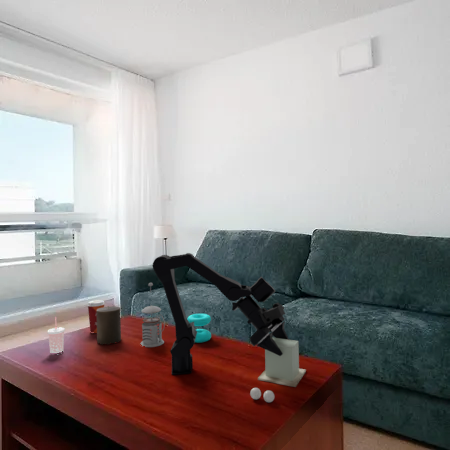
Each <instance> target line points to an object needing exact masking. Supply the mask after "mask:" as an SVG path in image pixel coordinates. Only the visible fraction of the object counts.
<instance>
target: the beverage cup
mask: <svg viewBox="0 0 450 450" xmlns="http://www.w3.org/2000/svg"><path fill="white" fill-rule="evenodd" d="M54 318H55V319H54V324H55V326H54V327H53V328H49V329H48V330H47V336H48V345H49V353H59V352H62V351H63V352H64V341H65V340H64V339H65V331H66V330H65V327H60V326H59V327H58V325H57V316H54Z"/></svg>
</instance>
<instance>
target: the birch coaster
mask: <svg viewBox="0 0 450 450" xmlns="http://www.w3.org/2000/svg"><path fill="white" fill-rule="evenodd" d="M306 371H307V369H305V368H304V369H303V368H299V373H298V374H297V375H296V377H295V378H294V380H293V381H290V380H285V379H280V378H275V377H270V376H266V373H265V370H264V371H263V372H262V373H261V374H260V375H259V376H258V377H257V381H263V382H268V383H272V384H277V385H283V386H288V387H292V388H296V387H297V386H298V385H299V383H300V381H301V380H302V378H303V376H304V375H305V374H306Z"/></svg>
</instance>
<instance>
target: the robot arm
mask: <svg viewBox="0 0 450 450" xmlns="http://www.w3.org/2000/svg"><path fill="white" fill-rule="evenodd" d="M182 267H187V268H189V269H190V270H192V271H193V272H194V273H196V274H198V275H199V276H200V277H202V278H203V279H205V280H206V281H208V282H209V283H211V284H212V285H214V286H215V287H216V288H217V289H218V291H220V293H221V294H222V295H223V296H224V297H225V298H226V299H227V300H229V301H231V302H232V303H231V304H232V306H231V311H234V312H235V311H237V310H238V309H239V310H240V312H241V313H242V314H243V315H244V316H245V318H246V319H247V321H246V322H247V324H248V325H250V324H251V325H252V326H253V327H254V328H255V329H256V331H255V332H254V333H253V334H252V335H251V336H249V343H250V344H251V345H252V346H253V347H257V348H261V349H264V350H265V349H266V350H268V351H270V352H272V353H274V354H277V355H279V356H281V355H282V354H283V353H282V352H281V350H280V349H279V347H278V346H277V344H276V343H275V341H274V340H273V338H280V339H288V340H290V338H289V337H288V334H287V332H286V330H285V319H286V318H285V317H284V315H286V313H285V311H284V310H285V306H283V304H281V303H280V302H276V303H273V304H272V307H271V308H270V309H267V308H265V307H261V306H260V305H259V303H265V302H266V301H267V300H268V299H270V298H271V296H273V295H274V293H275V292H276V290H275V288H274V287H273V286H272V285H271V284H270V282H268V281H266V280H265V278H263V276H260V277H259V278H258V279H257V281H255V282H254V283H253V284H252V285H251V286H250V285H246V284H245V285H243V284H241V283H240V282H238V281H237V280H235V279H232V278H230V277H228V276H225V275H222V274H221V273H219V272H218V271H216V270H215V269H214V268H212V267H210V266H209V265H208V264H206V263H204V261H201V260H200V259H198V258H197V257H196V256H195V255H193V254H192V253H190V252H186V253H184V254H179V255H171V256H170V255H168V254H162V255H161V254H160V256H158V257H156V258H155V259H154V260H153V262H152V269H153V271H154V274H155V275H156V277H157V279H158V280H159V281H160V283H161V285H162V286H163V287H162V288H163V289H164V293H165V296H166V299H167V303H168V306H169V308H170V311H171V315H172V319H173V321H174V326H175V329H174V330H175V339H176V340H174V342H173V344H172V347H171V348H170V351H169V352H170V354H171V375H174V376H175V375H187V374H192V372H193V371H192V370H193V367H194V365H193V354H192V353H191V350H192V349H193V347H194V345H195V343H196V342H195V339H196V334H197V331H196V328H195V327H196V326H194V322H191V323H190V322H189V321H188V320H187V318H188V317H187V315H186V312H185V309H184V306H183V303H182V302H183V301H182V299H181V296H180V292H179V290H178V286H177V283H176V281H175V269H178V268H182ZM255 300H256V301H257V302H256V301H255ZM235 301H236V302H235Z"/></svg>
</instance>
